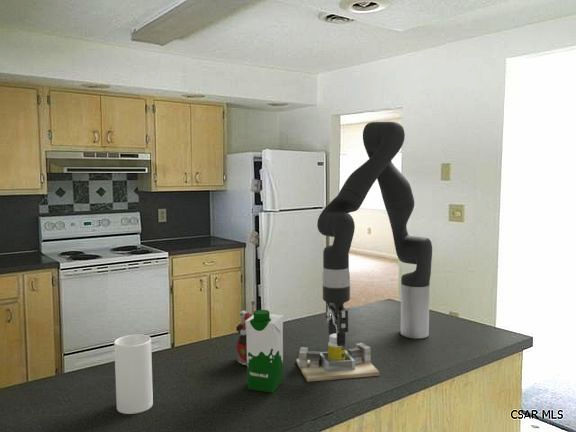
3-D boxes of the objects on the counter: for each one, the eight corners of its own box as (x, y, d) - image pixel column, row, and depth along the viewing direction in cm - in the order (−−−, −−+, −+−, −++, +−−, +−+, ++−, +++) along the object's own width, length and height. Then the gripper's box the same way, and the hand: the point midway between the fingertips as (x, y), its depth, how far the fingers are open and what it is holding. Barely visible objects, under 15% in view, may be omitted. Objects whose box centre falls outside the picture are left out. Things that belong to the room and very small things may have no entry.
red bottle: (277, 358, 148) (276, 299, 147) (262, 370, 140) (261, 307, 138) (245, 353, 153) (245, 295, 151) (229, 364, 144) (228, 303, 143)
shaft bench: (295, 362, 146) (294, 345, 145) (363, 356, 149) (363, 340, 149) (305, 381, 132) (305, 363, 131) (380, 375, 136) (381, 357, 135)
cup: (121, 398, 123) (119, 334, 121) (155, 397, 124) (153, 333, 122) (112, 414, 115) (110, 346, 113) (149, 413, 115) (147, 345, 114)
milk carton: (242, 390, 127) (241, 312, 125) (256, 376, 136) (255, 303, 134) (275, 395, 124) (274, 316, 122) (287, 380, 133) (286, 306, 131)
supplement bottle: (344, 368, 138) (344, 338, 137) (327, 367, 139) (327, 337, 138) (345, 362, 143) (345, 333, 142) (329, 361, 143) (328, 332, 143)
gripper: (357, 288, 132) (357, 348, 134) (341, 277, 146) (342, 331, 148) (329, 290, 131) (330, 350, 133) (316, 278, 145) (317, 333, 146)
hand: (336, 340), depth 140 cm, fingers open, 8 cm apart
